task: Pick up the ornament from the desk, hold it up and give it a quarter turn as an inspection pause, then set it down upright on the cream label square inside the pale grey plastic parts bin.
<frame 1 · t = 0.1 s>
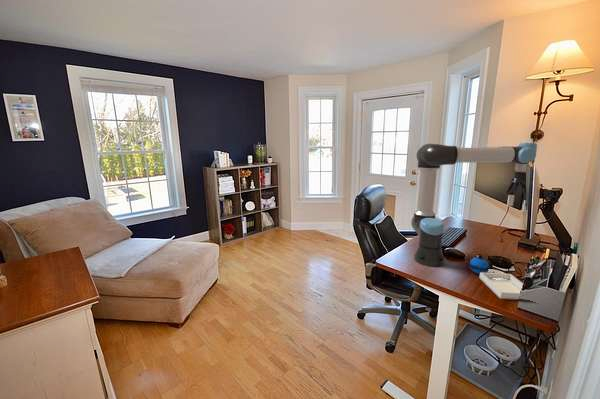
hand: (517, 208, 149), 28 cm above the table, fingers open, 13 cm apart
bin: (505, 288, 120), on the table
ornament: (477, 273, 134), on the table
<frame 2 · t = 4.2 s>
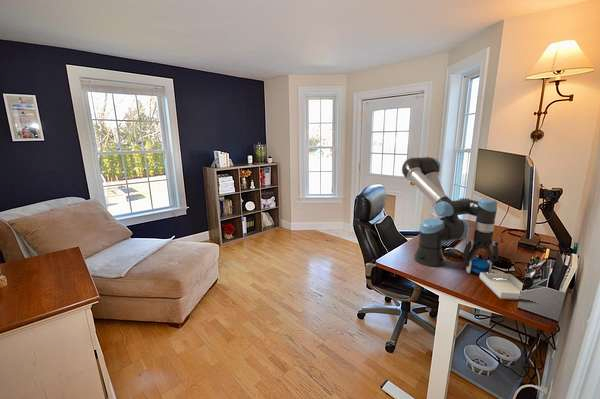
hand: (478, 272, 134), 0 cm above the table, fingers closed on ornament, 9 cm apart
ornament: (477, 273, 134), on the table, touching gripper
when the fingers open (4 cm above the table, at t = 10.5 s): ornament drops 2 cm, resting on bin.
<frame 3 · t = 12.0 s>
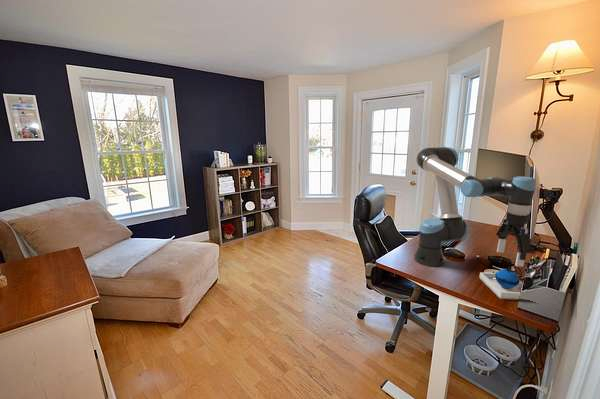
hand: (509, 258, 117), 15 cm above the table, fingers open, 13 cm apart
ornament: (505, 287, 120), point 1 cm above the table, touching bin
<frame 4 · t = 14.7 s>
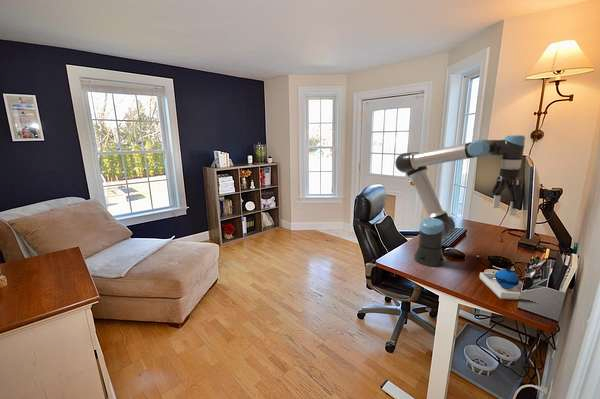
hand: (503, 211, 130), 32 cm above the table, fingers open, 13 cm apart
nothing on the table moved.
at the end: ornament inside the target area on the bin (0.1 cm from its centre), point 0.5 cm above the bin's base; ornament tilted 0°; the gripper is holding nothing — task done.
